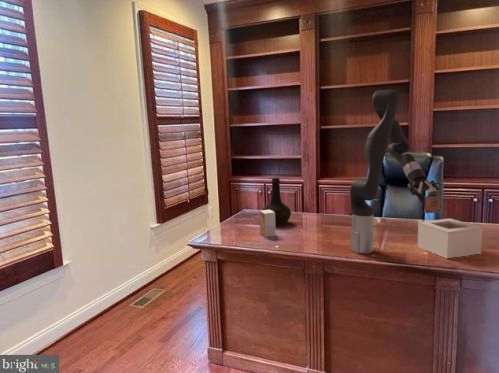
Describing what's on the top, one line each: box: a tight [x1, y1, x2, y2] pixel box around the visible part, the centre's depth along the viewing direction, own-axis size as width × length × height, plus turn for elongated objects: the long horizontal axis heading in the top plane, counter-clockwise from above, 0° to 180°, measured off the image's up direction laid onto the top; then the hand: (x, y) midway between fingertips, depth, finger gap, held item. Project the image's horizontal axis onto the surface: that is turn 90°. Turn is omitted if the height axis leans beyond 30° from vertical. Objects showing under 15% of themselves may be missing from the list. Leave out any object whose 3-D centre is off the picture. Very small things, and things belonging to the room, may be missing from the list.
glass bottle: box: [261, 177, 292, 227], centre depth 228 cm, size 18×18×28 cm
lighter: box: [423, 189, 442, 214], centre depth 175 cm, size 8×3×10 cm, turn 107°
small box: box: [259, 209, 277, 238], centre depth 207 cm, size 8×6×13 cm
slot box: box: [417, 217, 484, 259], centre depth 171 cm, size 18×18×12 cm
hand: (430, 200), depth 176 cm, fingers closed on lighter, 8 cm apart
